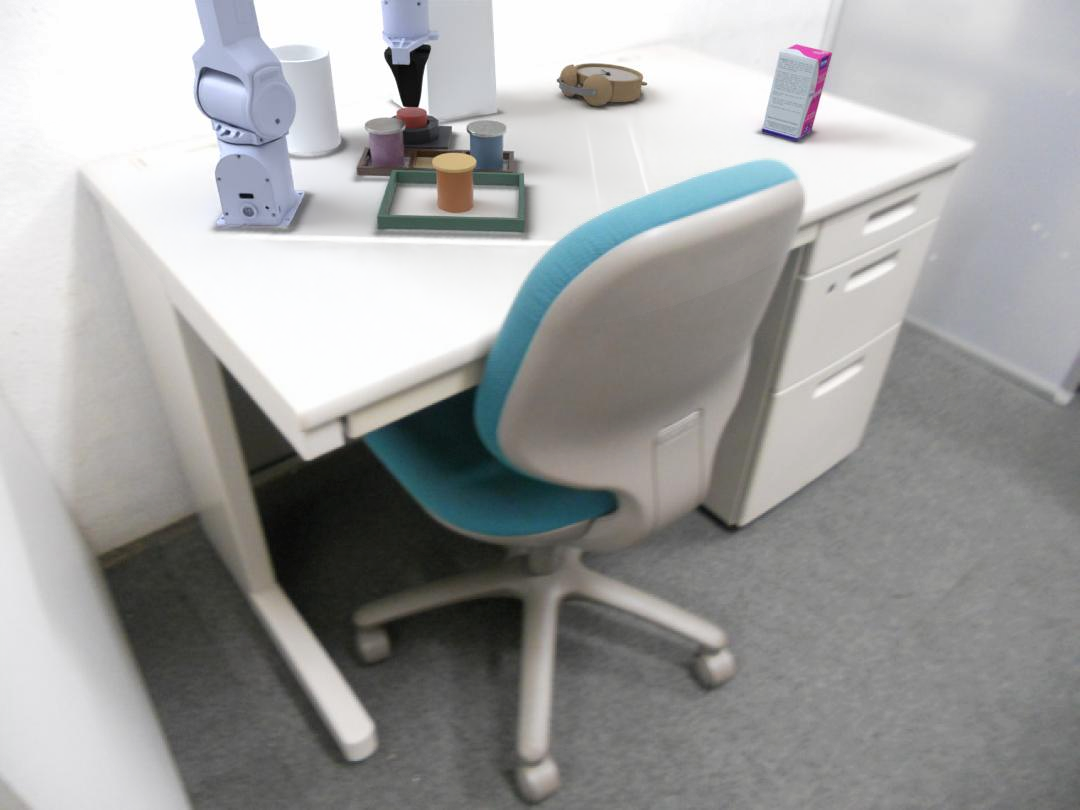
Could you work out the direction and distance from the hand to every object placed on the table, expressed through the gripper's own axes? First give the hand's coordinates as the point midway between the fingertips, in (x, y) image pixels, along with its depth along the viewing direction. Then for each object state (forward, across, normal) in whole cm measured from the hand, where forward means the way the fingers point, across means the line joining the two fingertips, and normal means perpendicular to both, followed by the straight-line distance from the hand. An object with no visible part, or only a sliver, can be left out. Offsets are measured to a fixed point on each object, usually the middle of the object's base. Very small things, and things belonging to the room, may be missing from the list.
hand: (411, 105), depth 109 cm
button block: (+5, 0, 0) cm, 5 cm away
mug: (+6, 0, +15) cm, 16 cm away
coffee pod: (+5, -20, -7) cm, 22 cm away
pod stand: (+5, -8, -4) cm, 11 cm away
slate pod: (+5, -8, -10) cm, 14 cm away
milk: (+6, +16, -3) cm, 17 cm away
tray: (+5, -20, -7) cm, 22 cm away
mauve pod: (+5, -8, +2) cm, 10 cm away
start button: (+3, 0, 0) cm, 3 cm away
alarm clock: (+6, +23, -27) cm, 36 cm away
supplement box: (+6, +9, -54) cm, 55 cm away
